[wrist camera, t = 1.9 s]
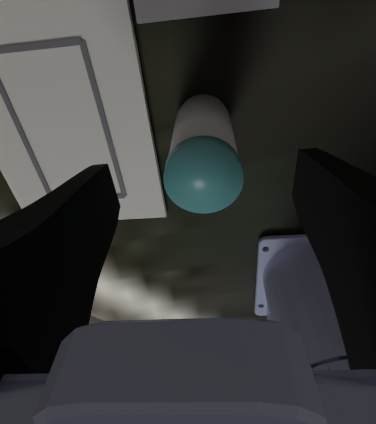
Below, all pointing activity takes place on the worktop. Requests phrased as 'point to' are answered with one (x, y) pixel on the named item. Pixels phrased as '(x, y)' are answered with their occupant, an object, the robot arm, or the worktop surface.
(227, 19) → the worktop surface
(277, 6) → the button housing
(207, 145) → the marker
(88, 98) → the picture card
